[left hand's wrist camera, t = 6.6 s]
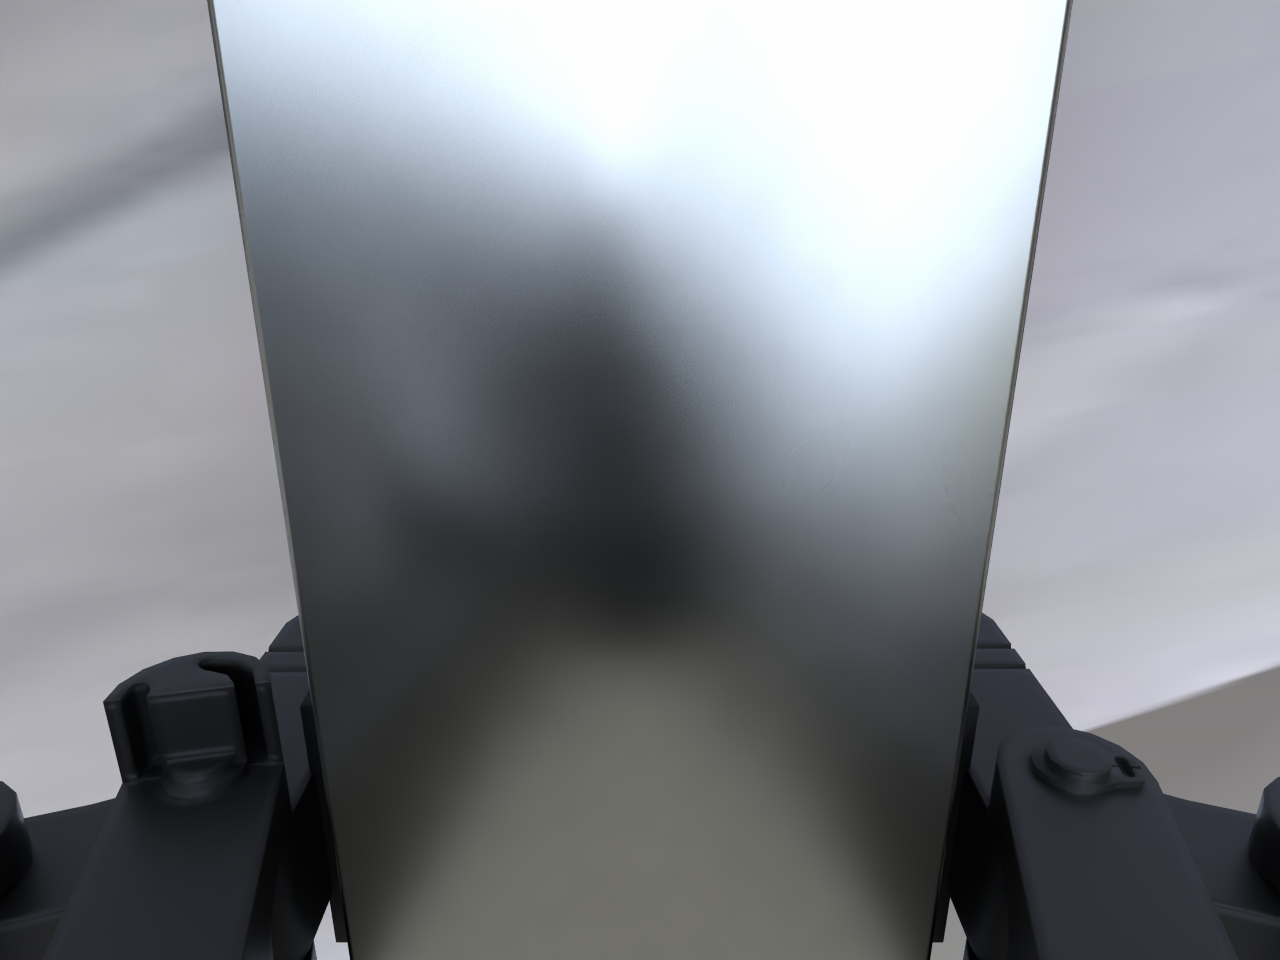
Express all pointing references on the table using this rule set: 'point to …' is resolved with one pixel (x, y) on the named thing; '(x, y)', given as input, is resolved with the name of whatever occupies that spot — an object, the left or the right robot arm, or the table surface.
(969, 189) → the bar
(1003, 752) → the left robot arm
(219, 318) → the table surface
